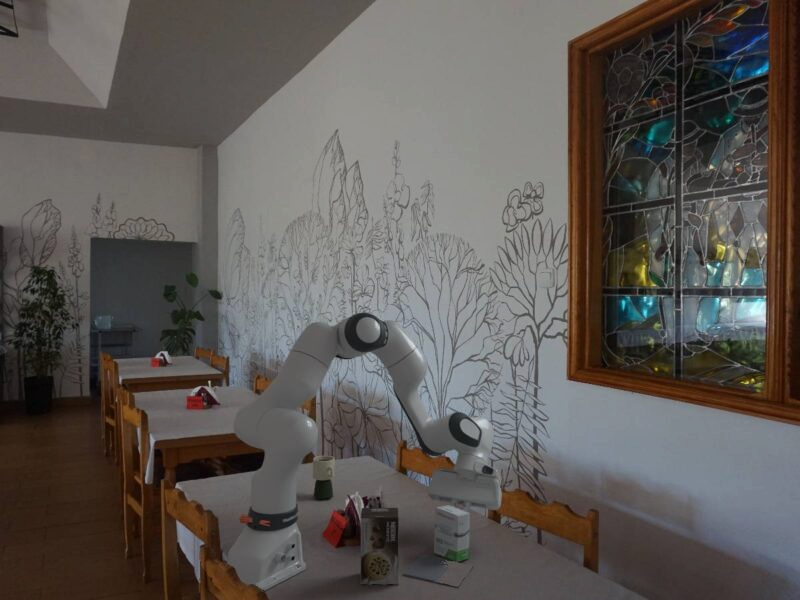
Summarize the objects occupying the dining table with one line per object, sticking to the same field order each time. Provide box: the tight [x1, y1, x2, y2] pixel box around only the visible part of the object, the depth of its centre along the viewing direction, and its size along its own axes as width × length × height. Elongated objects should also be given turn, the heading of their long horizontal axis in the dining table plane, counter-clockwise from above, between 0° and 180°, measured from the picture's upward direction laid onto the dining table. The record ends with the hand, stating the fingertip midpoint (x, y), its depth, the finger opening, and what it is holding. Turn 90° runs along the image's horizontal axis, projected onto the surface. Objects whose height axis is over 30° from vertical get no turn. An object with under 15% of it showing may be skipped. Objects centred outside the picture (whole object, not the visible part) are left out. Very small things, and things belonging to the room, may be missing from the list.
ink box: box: [433, 504, 471, 562], centre depth 162 cm, size 9×5×12 cm, turn 39°
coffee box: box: [359, 507, 400, 586], centre depth 149 cm, size 9×6×16 cm
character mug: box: [312, 455, 336, 500], centre depth 204 cm, size 11×7×13 cm, turn 38°
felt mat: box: [402, 553, 461, 582], centre depth 154 cm, size 12×14×1 cm
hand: (457, 518), depth 166 cm, fingers closed
